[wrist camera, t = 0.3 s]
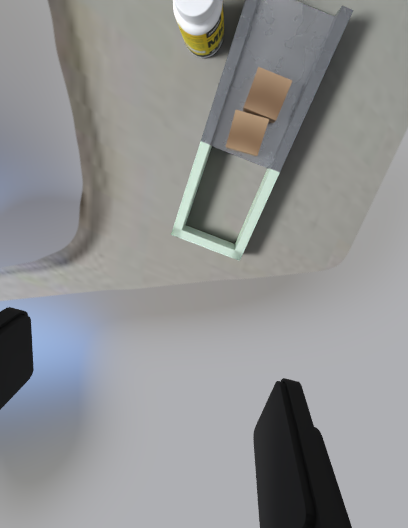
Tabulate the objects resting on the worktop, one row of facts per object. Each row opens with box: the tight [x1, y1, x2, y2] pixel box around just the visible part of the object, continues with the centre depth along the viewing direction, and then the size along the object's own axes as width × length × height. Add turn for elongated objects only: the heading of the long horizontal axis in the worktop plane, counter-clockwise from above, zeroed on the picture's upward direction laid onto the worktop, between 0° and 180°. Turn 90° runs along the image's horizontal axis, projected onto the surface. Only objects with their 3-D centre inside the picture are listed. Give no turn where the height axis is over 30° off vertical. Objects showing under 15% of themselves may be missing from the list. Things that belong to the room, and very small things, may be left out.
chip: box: [226, 110, 269, 156], centre depth 31 cm, size 4×4×2 cm
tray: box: [171, 141, 280, 261], centre depth 35 cm, size 13×10×3 cm
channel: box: [201, 0, 353, 172], centre depth 29 cm, size 16×10×3 cm, turn 160°
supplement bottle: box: [173, 0, 224, 58], centre depth 25 cm, size 5×5×8 cm
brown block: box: [243, 67, 292, 123], centre depth 29 cm, size 4×4×2 cm
